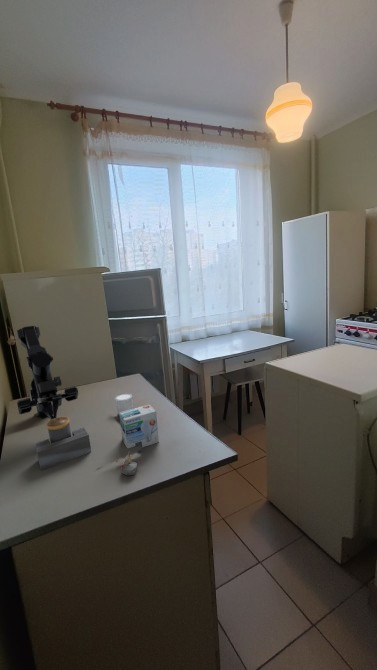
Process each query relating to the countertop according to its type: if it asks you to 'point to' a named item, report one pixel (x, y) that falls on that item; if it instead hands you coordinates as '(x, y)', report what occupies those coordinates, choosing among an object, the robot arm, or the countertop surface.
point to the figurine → (128, 466)
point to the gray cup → (58, 429)
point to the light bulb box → (139, 426)
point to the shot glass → (124, 402)
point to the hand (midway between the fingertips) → (54, 422)
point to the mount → (63, 449)
